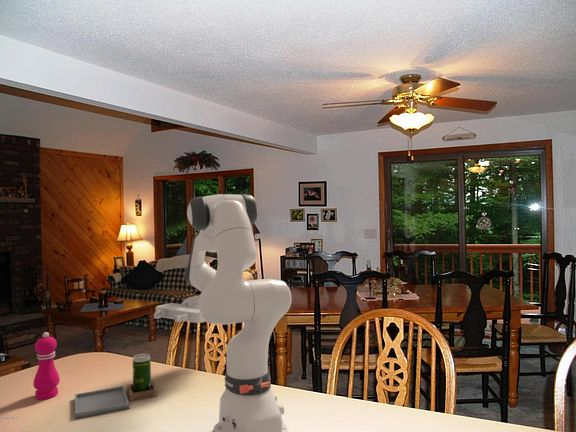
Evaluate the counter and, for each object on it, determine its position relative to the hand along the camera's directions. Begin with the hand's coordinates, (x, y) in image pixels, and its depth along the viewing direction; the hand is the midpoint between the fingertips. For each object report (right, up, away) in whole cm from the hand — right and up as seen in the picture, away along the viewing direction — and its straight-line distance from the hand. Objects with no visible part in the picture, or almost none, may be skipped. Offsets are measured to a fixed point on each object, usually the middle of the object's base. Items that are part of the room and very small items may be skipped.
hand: (165, 317), depth 149 cm
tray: (-15, -22, -17) cm, 31 cm away
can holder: (-5, -22, -10) cm, 24 cm away
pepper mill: (-34, -22, -11) cm, 42 cm away
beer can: (-5, -22, -10) cm, 24 cm away
